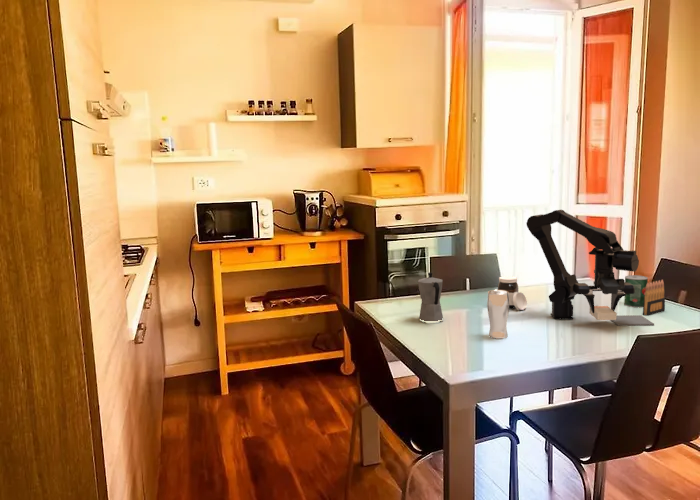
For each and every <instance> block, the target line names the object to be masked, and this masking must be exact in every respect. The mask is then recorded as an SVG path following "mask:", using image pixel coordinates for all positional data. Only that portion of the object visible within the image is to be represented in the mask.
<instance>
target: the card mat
mask: <svg viewBox="0 0 700 500" xmlns="http://www.w3.org/2000/svg"><path fill="white" fill-rule="evenodd" d="M609 321H610V322H612V323H613V324H614V325H616V326H617V327H621V326H622V327H629V326H631V327H632V326H636V327H637V326H638V327H640V326H643V327H644V326H651V327H652V326H655V323H653V322H652V321H651V320H649V319H647V318H646V317H644V315H643V314H642V315H640V314H639V315H637V314H636V315H630V314H629V315H623V314H622V315H617V316H616V320H609Z"/></svg>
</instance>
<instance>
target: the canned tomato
mask: <svg viewBox="0 0 700 500" xmlns="http://www.w3.org/2000/svg"><path fill="white" fill-rule="evenodd" d="M624 281H625V283H630V284H632V285H633V286H634V287H635V293H634V294H626V296H623V297H624V298H623V299H624V300H623V301H624V302H623V303H624V306H626V307H630V308H638V307H639V308H643V303H644V301H645V292H646V285H647V283H649V281H648V277H647V276H643V275H631V274H630V275H629V274H628V275H625V277H624Z"/></svg>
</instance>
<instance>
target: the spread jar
mask: <svg viewBox="0 0 700 500" xmlns="http://www.w3.org/2000/svg"><path fill="white" fill-rule="evenodd" d="M498 280H499V282H498V284H497V290H505V291H508V292H509V308H513V309H517V310H518V311H524V310H526V308H527V306H528V300H527V297H526V295H525V294H524V293H523V292H521V291H519V284H518V277H517V276H513V275H512V276H511V275H510V276H509V275H508V276H507V275H504V276H499V277H498Z"/></svg>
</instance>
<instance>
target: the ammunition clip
mask: <svg viewBox="0 0 700 500" xmlns="http://www.w3.org/2000/svg"><path fill="white" fill-rule="evenodd" d="M665 308H666V298H665V283H664V279H661V280H660V279H659V280H655V281H652V282H651V281H649V282H648V283H647V285H646V292H645V301H644V303H643V307H642V316H646V317H649V316H651V315H656V314H659V313H664V312H666V311H665V310H666V309H665Z"/></svg>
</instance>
